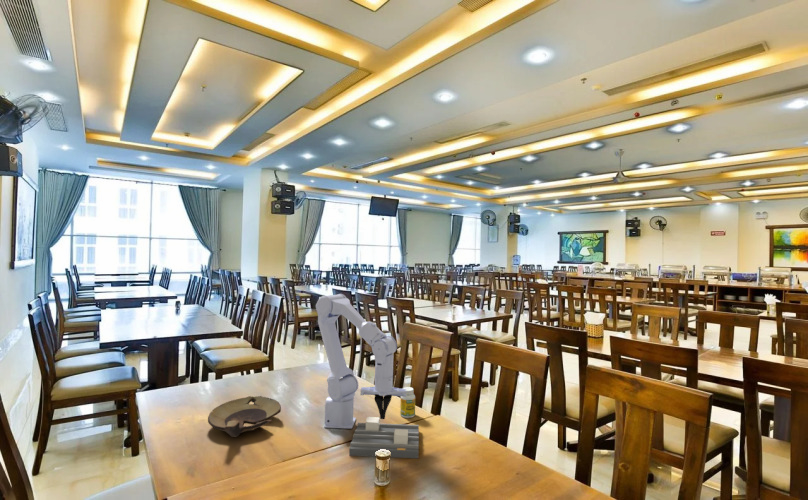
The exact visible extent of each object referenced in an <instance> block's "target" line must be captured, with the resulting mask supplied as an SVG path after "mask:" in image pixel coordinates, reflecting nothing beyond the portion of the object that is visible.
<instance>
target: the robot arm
mask: <svg viewBox="0 0 808 500" xmlns="http://www.w3.org/2000/svg"><path fill="white" fill-rule="evenodd" d="M315 309H316V313H317V324H318V327H319V330H320V334H321V338H322V342H323V347H324V350H325V353H326V357H327V358H326V359H327V361H328V364H329V368H330V373H329V374H328V377H327V379H326V381H327V394H328V395H329V396H327V397H326V399H325V405H324V424H323V427H324V428H325V429H326V428H327V429H350V430H351V429H353V427H354V425H355V422H356V419H357V418H356V417H354V405H355V404H354V403H355V402H354V401H355V400H354V399H355V395H356V392H357V391H358V389H359V381H358V379H357V376H355V374H354V371H353V369H351V368H350V367H348V365H347V362H346V359H345V355H344V352H343V349H342V345H341V340H340V337H339V334H338V330H337V326H336V321H337V320H338V318H339V317H340V316H343V317H344V318H345V319H346V320H348V321H349V322H350V323H352V324H353V326H354V327H356V328H357V329H358V335H359V336H360V337H361V338H362V339H363V340H364V341H365V342H366V343H367V344H368V345H369V346H370V347H371V352H372V353H373V355H374V356H373V357H374V361H375V362H374V363H375V364H374V365H375V366H374V367H375V368H374V386H365V387H363V386H362V387H360V392H359V393H360V396H364V395H365V396H374V402H375V405H376V406H377V408H378V412H379V413H378V414H379V417H380V420H385V419H386V413H387V410H388V407H389V405H390V403H391V401H392V397H401V396H402V397H406V389H403V388H399V387H394V386H393V383H394V381H393V380H394V353H395V352H396V351H397V349H398V342H397V341H396V339H395V338H394V336H391V335H387V334H386V333H385V332H383V331H382V330H380V328H379V327H378V326H377V323H375V321H374V322H372V321H366V320H365V318H363V316H362V315H361V314H360V313H359V311H357V310H356V309H355V307H354V306H353V305H352V304H351V301H350V299H349V298H348V297H347V296H346V295H345V294H343V293H338V294H333V295H322V296H320V297H319V298H318V300H317V302H316V304H315Z"/></svg>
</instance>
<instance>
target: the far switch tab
mask: <svg viewBox="0 0 808 500" xmlns="http://www.w3.org/2000/svg"><path fill="white" fill-rule="evenodd" d="M380 420H381V419H380V416H377V417H375V416H367V417H366V420H365V423H366V430H372V431H379V425H380V424H381V423H380V422H381V421H380Z"/></svg>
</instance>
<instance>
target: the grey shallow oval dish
mask: <svg viewBox="0 0 808 500" xmlns="http://www.w3.org/2000/svg"><path fill="white" fill-rule="evenodd" d="M251 402H252V403H251ZM281 406H282V405H281V404H280V402H279V401H277V399H273V398H271V397H270V398H269V397H265V396H262V395H257V396H251V395H250V396H246V397H241V398H237V399H233V400H229V401H226V402H223V403H222V404H220V405H218V406H216V407H214V408H213V409H212V411H210V413H209V415H208V416H207V423H208V424H209V426H211V427H212V428H214V429H216V430H218V431H221V432H222V431H223V432H226V433H227V434H228V435H229V436H231V437H232V438H236V437H238V436H240V434H242V433H245V432H249V431H252V430H255V429H258V428H260V427H263V426H265V425H266V424H267V425H268V423H270V422H272V419H271V418H273V417H274V416H277V415H278V414H279V413H281V411H282V407H281ZM244 423H251V424H252V425H248V426H246V425H244Z"/></svg>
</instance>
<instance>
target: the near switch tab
mask: <svg viewBox="0 0 808 500" xmlns="http://www.w3.org/2000/svg"><path fill="white" fill-rule="evenodd" d="M394 444H408V430H404V429H395V432H394Z"/></svg>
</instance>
